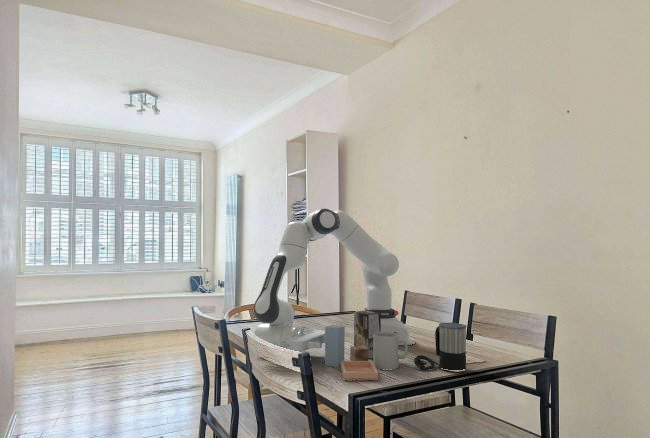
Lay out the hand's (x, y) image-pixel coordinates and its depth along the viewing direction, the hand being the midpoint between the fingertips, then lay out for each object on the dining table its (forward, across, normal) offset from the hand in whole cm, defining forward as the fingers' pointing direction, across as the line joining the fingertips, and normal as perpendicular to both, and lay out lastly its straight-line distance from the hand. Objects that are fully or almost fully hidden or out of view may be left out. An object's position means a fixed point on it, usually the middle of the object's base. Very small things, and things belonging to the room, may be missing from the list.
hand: (327, 343), depth 156 cm
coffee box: (+8, +18, +7) cm, 21 cm away
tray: (+15, -7, +7) cm, 18 cm away
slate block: (+3, 0, +7) cm, 8 cm away
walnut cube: (+9, +8, +7) cm, 14 cm away
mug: (+21, +7, +7) cm, 23 cm away
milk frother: (+36, +13, +7) cm, 39 cm away
